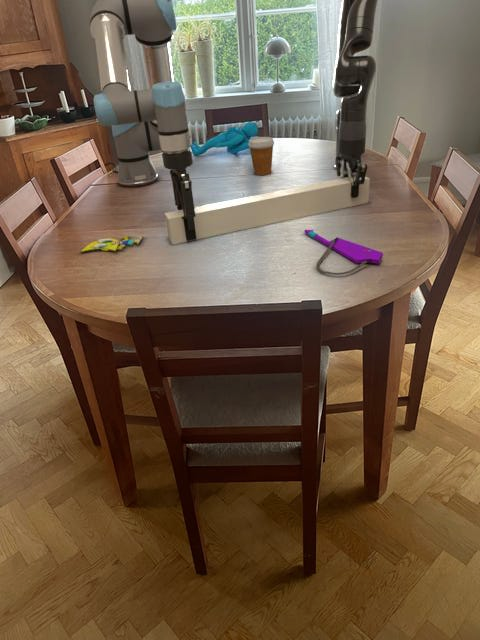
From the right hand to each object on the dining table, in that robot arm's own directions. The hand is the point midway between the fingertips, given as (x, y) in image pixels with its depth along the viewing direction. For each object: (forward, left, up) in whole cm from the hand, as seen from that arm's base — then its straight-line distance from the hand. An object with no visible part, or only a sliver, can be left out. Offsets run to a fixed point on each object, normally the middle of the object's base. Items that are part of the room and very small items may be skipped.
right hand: (349, 194), depth 145 cm
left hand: (+26, -44, -2) cm, 51 cm away
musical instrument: (+37, -5, -3) cm, 37 cm away
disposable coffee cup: (-34, -31, -3) cm, 46 cm away
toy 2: (-64, -52, -3) cm, 82 cm away
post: (+13, -22, -3) cm, 26 cm away
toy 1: (+31, -64, -3) cm, 71 cm away
